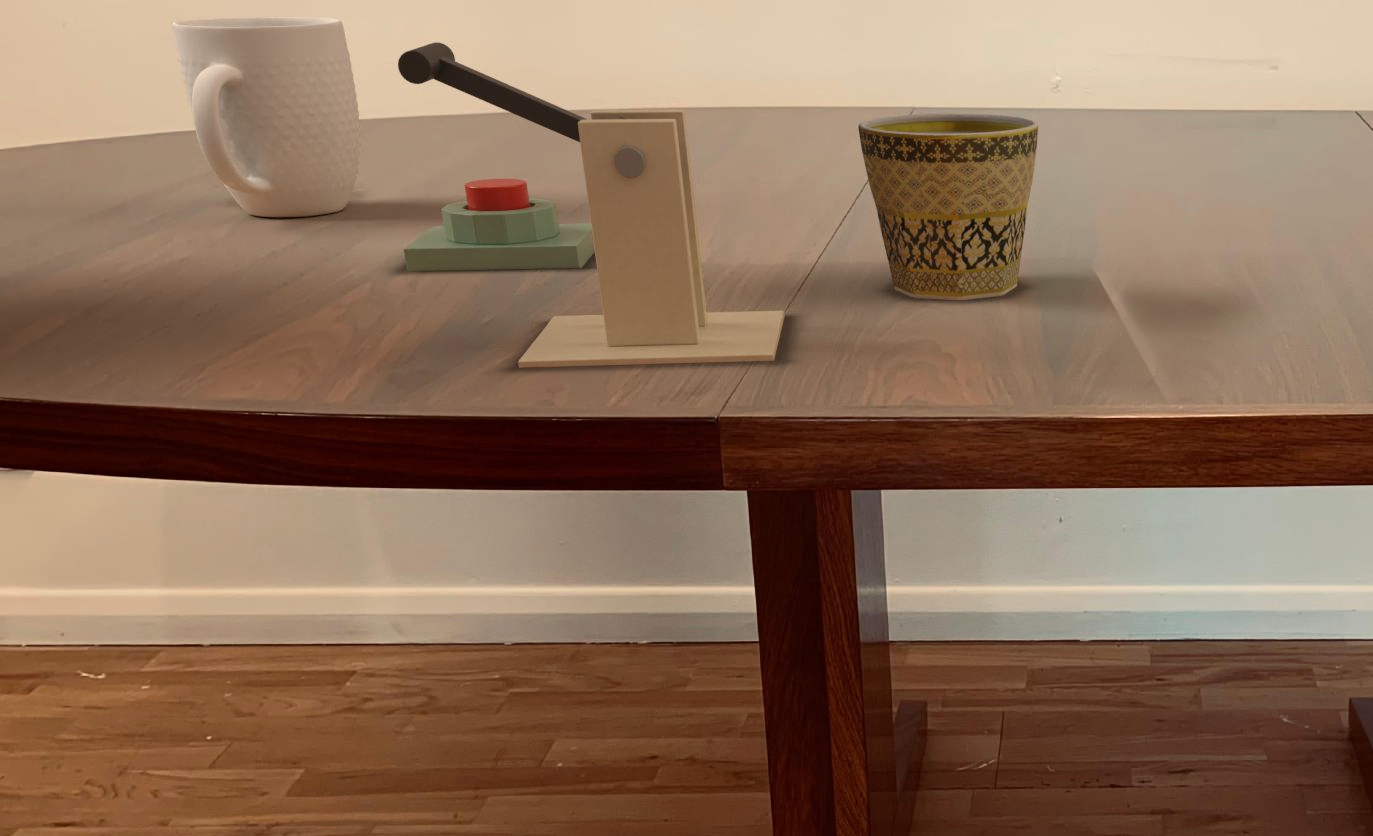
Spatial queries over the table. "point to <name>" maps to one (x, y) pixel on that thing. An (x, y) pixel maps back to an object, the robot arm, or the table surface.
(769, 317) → the bracket
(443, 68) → the lever
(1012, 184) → the ceramic cup
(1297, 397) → the table surface
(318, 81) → the mug
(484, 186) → the button
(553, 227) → the button box
